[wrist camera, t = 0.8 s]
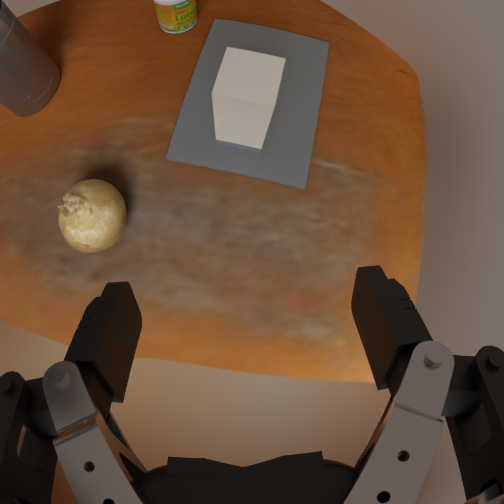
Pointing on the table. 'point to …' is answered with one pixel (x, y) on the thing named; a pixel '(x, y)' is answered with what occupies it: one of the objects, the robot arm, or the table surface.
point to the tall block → (245, 97)
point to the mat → (284, 115)
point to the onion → (92, 215)
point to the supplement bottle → (176, 15)
